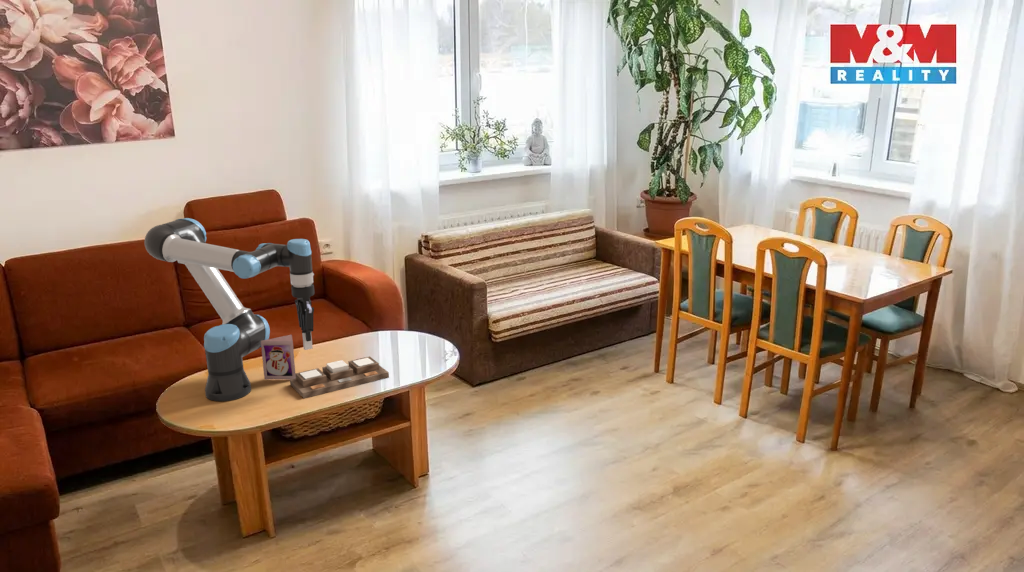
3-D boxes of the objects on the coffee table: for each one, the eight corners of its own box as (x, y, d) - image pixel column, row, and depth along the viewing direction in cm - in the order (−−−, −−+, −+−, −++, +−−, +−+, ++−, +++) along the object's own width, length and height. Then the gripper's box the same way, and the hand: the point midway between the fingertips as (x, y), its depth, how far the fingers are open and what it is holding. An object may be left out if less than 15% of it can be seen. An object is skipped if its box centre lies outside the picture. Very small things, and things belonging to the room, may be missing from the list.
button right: (359, 372, 288) (359, 366, 287) (353, 367, 293) (352, 361, 292) (374, 368, 291) (374, 362, 290) (368, 363, 296) (367, 357, 295)
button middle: (332, 375, 282) (332, 368, 281) (326, 369, 287) (326, 363, 286) (348, 371, 285) (348, 365, 285) (342, 366, 290) (342, 360, 289)
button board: (303, 398, 272) (302, 386, 271) (290, 384, 283) (289, 373, 282) (388, 377, 289) (388, 365, 287) (373, 365, 300) (372, 354, 299)
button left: (305, 385, 277) (305, 378, 277) (300, 379, 282) (299, 373, 281) (322, 381, 280) (321, 374, 280) (316, 375, 285) (315, 369, 285)
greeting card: (263, 380, 287) (260, 341, 282) (269, 372, 294) (266, 334, 289) (295, 380, 287) (292, 342, 282) (300, 372, 294) (297, 334, 289)
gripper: (319, 287, 268) (325, 352, 275) (306, 278, 278) (312, 341, 285) (298, 290, 264) (304, 356, 271) (285, 281, 274) (291, 345, 281)
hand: (308, 348), depth 278 cm, fingers closed
